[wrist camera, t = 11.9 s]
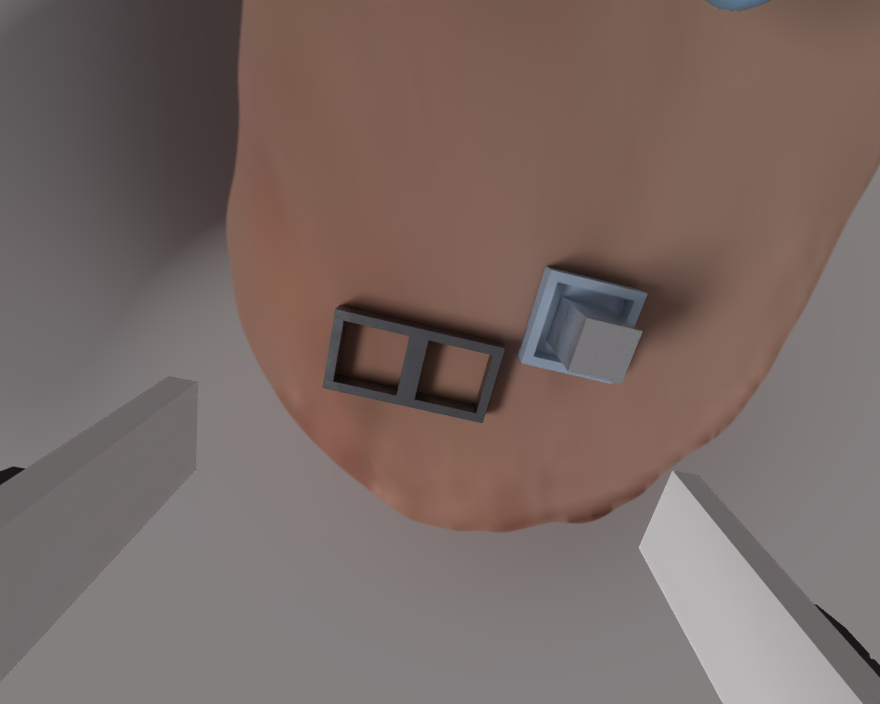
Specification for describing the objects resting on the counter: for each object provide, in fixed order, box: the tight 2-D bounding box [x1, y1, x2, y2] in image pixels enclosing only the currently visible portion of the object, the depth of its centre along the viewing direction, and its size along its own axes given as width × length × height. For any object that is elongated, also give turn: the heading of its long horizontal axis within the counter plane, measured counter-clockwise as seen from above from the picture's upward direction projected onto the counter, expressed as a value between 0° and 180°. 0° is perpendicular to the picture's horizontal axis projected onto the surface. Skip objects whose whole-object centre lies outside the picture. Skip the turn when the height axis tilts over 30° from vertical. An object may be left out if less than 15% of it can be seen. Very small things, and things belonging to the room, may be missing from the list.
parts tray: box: [518, 266, 648, 384], centre depth 47 cm, size 10×10×2 cm
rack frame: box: [323, 305, 505, 423], centre depth 49 cm, size 9×18×2 cm, turn 77°
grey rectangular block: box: [546, 296, 643, 384], centre depth 43 cm, size 5×5×9 cm
